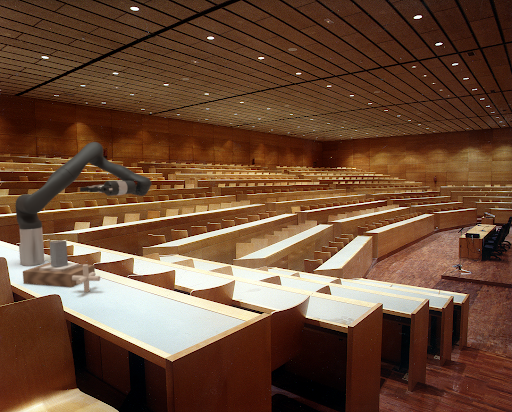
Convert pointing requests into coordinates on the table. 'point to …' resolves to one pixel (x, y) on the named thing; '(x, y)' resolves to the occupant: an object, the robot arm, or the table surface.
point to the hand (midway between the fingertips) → (84, 189)
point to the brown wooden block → (55, 274)
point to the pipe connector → (86, 278)
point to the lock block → (58, 253)
